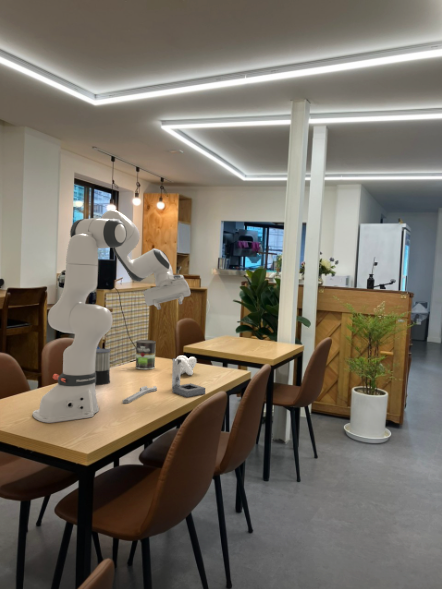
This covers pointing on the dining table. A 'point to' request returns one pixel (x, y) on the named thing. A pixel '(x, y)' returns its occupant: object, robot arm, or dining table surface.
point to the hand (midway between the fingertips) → (169, 305)
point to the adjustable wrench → (139, 394)
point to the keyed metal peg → (176, 372)
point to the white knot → (187, 364)
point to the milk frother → (102, 366)
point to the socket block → (188, 390)
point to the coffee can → (145, 354)
